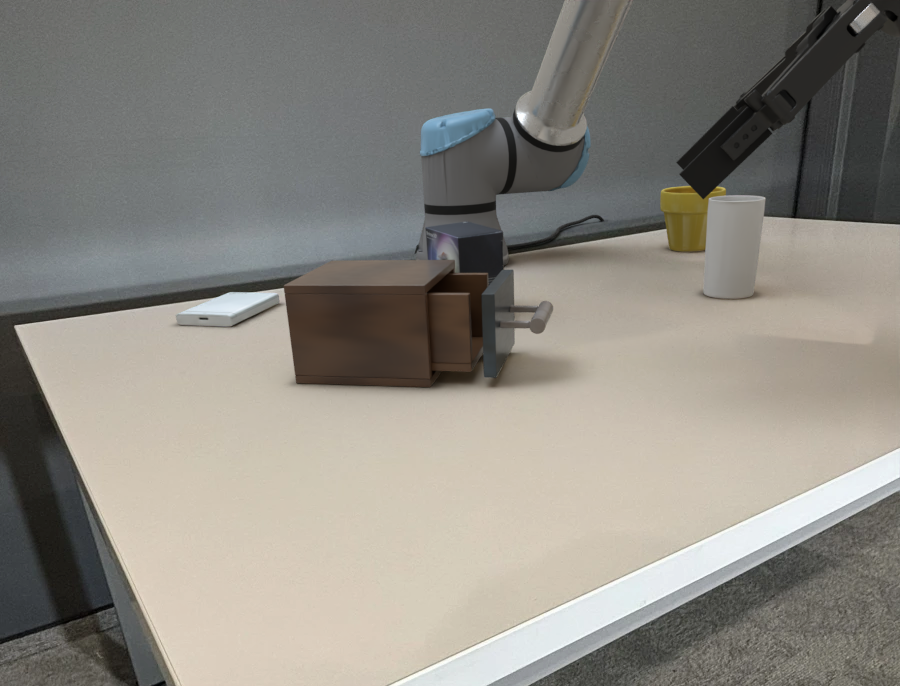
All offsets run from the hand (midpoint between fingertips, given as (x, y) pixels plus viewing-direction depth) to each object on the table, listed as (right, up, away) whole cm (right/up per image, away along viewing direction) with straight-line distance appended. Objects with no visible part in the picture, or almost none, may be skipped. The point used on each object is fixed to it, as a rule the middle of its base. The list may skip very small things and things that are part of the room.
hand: (688, 179), depth 68 cm
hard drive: (-50, -5, +38) cm, 63 cm away
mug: (+17, -2, +37) cm, 41 cm away
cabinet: (-28, -15, +14) cm, 34 cm away
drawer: (-19, -14, +11) cm, 26 cm away
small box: (-18, -6, +33) cm, 38 cm away
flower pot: (+20, +11, +67) cm, 71 cm away
